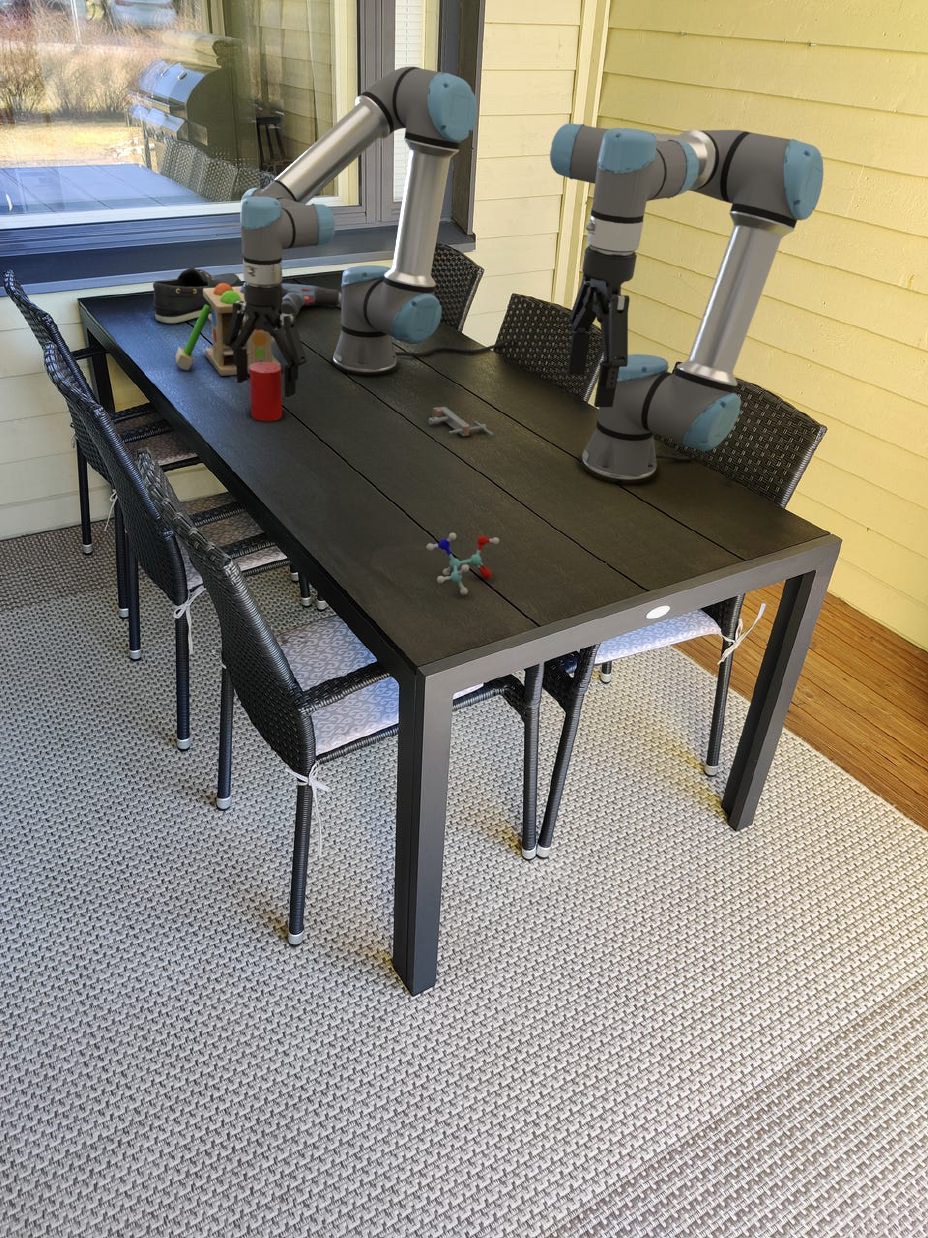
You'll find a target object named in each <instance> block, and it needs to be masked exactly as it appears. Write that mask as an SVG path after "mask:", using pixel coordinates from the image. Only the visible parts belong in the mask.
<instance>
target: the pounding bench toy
mask: <svg viewBox="0 0 928 1238" xmlns="http://www.w3.org/2000/svg"><path fill="white" fill-rule="evenodd" d="M203 296H204V297H205V299H206V300H207V301H208V302H209V304H210V305H211V307H210V306H208V305H204V307H203V309H202V311H201V314H200V316H199V317H197V320H196V322H195V324H194V327H193V329H192V331H191V332H190V333H191V334H190V336H189V338H188V340H187V343H186V344H185V347H184V348H182V347H180V346H179V347H178V349H177V351H176V354H175V357H174V358H175V362H176V365H177V366H178V368H179V369H182V370H185V371H189V370H190V369H191V367H192V365H193V363H194V356H193V351H194V348H195V347H196V345H197V342H198V340H199V337H200V336H201V333H202V332H203V329H204V326H205V325H206V322H207V320H209V321H210V322H211V336H212V337H211V338H212V339H211V340H212V348H205V349H204V352H205V353H204V355H205V357H206V359H208V361H209V363H210V364H211V365H212V366H213V367H214V369H215V370H216V371H217V372H218V374H219V375H220V376H222V377H223V376H234V375H235V376H237V370H236V365H234V359H233V350H232V348H231V347H229V346H226V345H225V344H224V341H225V338H226V335H227V331H228V328H229V324H230V321H231V318H232V314H233V308H232V305H233V303H236V302H238V301H241V300H242V301H244V303H245V304H246V302H245V300H244V284H242V287H231V286H230V285H228V284H226V283H221V284H218V285H217V286H216V287H215V288H204V289H203ZM210 310H211V311H210ZM248 318H249V317H248V316H247V314H246V313H245V314H244V318H243V321H242V324H241V328H240V331H239V332H241V331H242V329H243V328H244V324H245V323H246V321H247V320H248ZM238 336H239V334H238ZM272 344H277V343H276V341H275V340H274V338H273V337H272V336H271V335H270V334H269V332H266V331H263V330H262V329H255V330H254V331H253V333H252V334H251V336H250V338H249V339H248V341H247V342H246V344H245V345H244V346H245V347H244V348H242V350H243V349H246V350H247V368H248V375H250V365H252V364H254V363H258V362H271V363H275V364H278V365H279V366H280V367H281V368H282V364H281V363H280V362H279V360H278V359H277V358H276V357H275V356H274V355H273V348H272V347H273V345H272Z"/></svg>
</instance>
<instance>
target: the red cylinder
mask: <svg viewBox="0 0 928 1238" xmlns="http://www.w3.org/2000/svg"><path fill="white" fill-rule="evenodd" d="M249 388H250V390H249V391H250V392H249V393H250V414H251V415H250V416H251V417H252V418H253V419H255V420H257V421H261V422H273V421H277V420H280V419H281V418H282V417H283V397H282V396H283V395H282V394H283V393H282V391H283V390H282V366H281V367H280V366H279V365H278V364H275V363H271V362H258V363H254V364H252V365H250V374H249Z"/></svg>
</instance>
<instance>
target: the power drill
mask: <svg viewBox="0 0 928 1238" xmlns="http://www.w3.org/2000/svg"><path fill="white" fill-rule="evenodd" d="M280 283H281V285H282V296H283V301H282V304H281V310H282V312H283V314H288V315H290V314H294V315H295V317H297V316H298V314H299V312H300V310H301V309H302V307H303V306H306V307H309V306H312V307H313V306H338V305H339V304H342V292H340V291H339V290H338V289H335V288H334V289H332V288H325V287H321V286H316V285H307V284H297V283H282V282H280Z"/></svg>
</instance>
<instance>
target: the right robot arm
mask: <svg viewBox="0 0 928 1238" xmlns="http://www.w3.org/2000/svg"><path fill="white" fill-rule="evenodd" d="M550 146H551V147H550V151H549V162H550V166H551V168H552V169H553V171H554V173H556V174H557V175H559V176H562V177H565V178H568V179H569V180H576V181H581V182H585V183H590V184H594V190H593V197H592V206H591V208H590V209H591V210H590V217H589V223H586V224H585V230H586V231H587V237H586V243H587V244H588V246H586V248H585V249H584V254H583V260H582V268H581V269H582V270H581V271H582V278H581V283H580V286H579V288H578V292H577V295H576V297H575V300H574V303H573V306H572V308H571V312H570V314H569V318H568V324H570V325H571V331H572V336H571V342H570V349H569V356H568V363H567V369H566V373H567V375H585V372H586V364H587V359H588V352H589V347H590V340H591V334H590V333H592V332H593V326H592V325H593V324H594V322H595V320H597V322H598V323H599V324H600V335H601V344H602V355H603V356H602V357H603V360H602V361H600V363H599V372H598V379H597V385H596V390H595V396H594V402H593V407H594V408H598V412H597V418H596V419H597V420H596V424H595V428H594V431H593V433H592V435H591V436H590V438H589V439H588V442H587V444H586V445H585V447H584V450H583V451H582V453H581V458H580V459H581V460H580V465H581V468H582V469H583V470H584V471H585V472H586V473H587V474H589V476H590V475H591V476H592V477H594V478H597V479H598V480H602V481H604V482H607V483H613V484H619V485H638V484H643V483H647V482H649V481H651V480H652V479H653V478H654V477H655V475H656V470H657V465H658V463H657V459H664V460H665V459H666V460H674V461H675V460H676V461H690V459H691V456H689V455H688V456H677V455H670V454H656V449H655V441H654V436H655V435H657V436H660V437H662V438H666V439H668V440H670V441H672V442H676V443H679V444H681V445H683V446H684V447H685V448H692V449H695V450H698V451H702V452H708V451H711V450H713V449H715V448H716V447H718V446H719V445H720V444H721V443H722V442H723V441H724V440H725V439H726V438H727V437H728V435H730V432H731V431H732V429H733V428H734V426H735V424H736V422H737V420H738V419H739V415H740V412H741V406H742V399H741V398H740V396H739V395H738V394H737V393H735V391H736V389H737V386H738V381H737V379H736V377H735V374H734V370H735V368H736V365H737V362H738V359H739V356H740V354H741V351H742V348H743V346H744V342H745V340H746V337H747V335H748V332H749V329H750V327H751V323H752V321H753V319H754V318H753V317H754V315H755V313H756V309H757V308H758V303H759V302H760V299H761V296H762V293H763V290H764V288H765V285H766V283H767V279H768V276H769V274H770V271H771V268H772V266H773V263H774V260H775V259H776V258H775V257H776V254H777V252H778V249H779V247H780V244H781V241H782V239H783V238H784V237H786V236H788V235H790V234H791V233H792V232H794V231H795V228H796V225H797V223H798V221H804V220H807V219H809V218H810V216H812V214H813V212H814V210H815V209H816V207H817V205H818V203H819V199H820V196H821V193H822V192H821V191H822V188H823V183H824V182H823V181H824V160H823V157H822V156H823V155H822V153H821V152H820V150H819V148H818V147H816V146H815V145H813V144H810V143H807V142H803V141H800V140H798V139H795V138H792V139H791V138H785V137H779V136H774V135H769V134H761V133H756V132H750V131H747V130H741V129H714V130H713V129H712V130H710V129H709V130H707V129H705V130H704V129H703V130H701V129H699V130H698V129H690V130H686V131H683V132H682V133H680V134H670V133H660V132H652V131H648V130H645V129H639V128H629V127H612V128H604V127H596V126H591V125H585V124H583V123H579V124H578V123H571V122H568V123H565V124H563V125H562V126H561V127H560V128H559V129H557V131H556V132H555V134H554V136H553V137H552V141H551V145H550ZM689 191H690V192H694V193H696V194H697V193H698V194H701V195H704V196H706V197H710V198H712V199H714V200H718V201H720V202H725V203H728V204H731V208H730V209H729V213H728V214H729V216H730V219H731V221H732V223H733V228H732V231H731V233H730V236H729V239H728V242H727V246H726V248H725V250H724V253H723V256H722V260H721V262H720V265H719V268H718V270H717V274H716V277H715V280H714V283H713V285H712V289H711V291H710V295H709V297H708V300H707V304H706V305H705V309H704V312H703V314H702V317H701V320H700V323H699V326H698V328H697V332H696V335H695V337H694V341H693V343H692V346H691V349H690V353H689V354H688V358H687V359H686V360H684V361H682V362H681V363H679V364H677V365H676V368H675V370H674V373H672V372H670V371H668V370H669V368H670V366H669V362H668V360H667V359H666V358H664V357H661V356H657V355H653V354H645V353H644V354H643V353H631V354H630V353H629V308H630V295H627V294H622V285H623V284H624V283H626V282H630V281H631V280H633V278H634V274H635V270H636V269H635V268H636V263H637V258H638V255H637V253H636V252H635V251H638V249H639V248H640V245H641V244H640V243H641V238H642V231H643V226H644V221H645V220H644V218H645V213H646V206H647V202H649V201H657V200H661V199H662V200H663V199H668V200H669V199H671V198H674V197H676V196H679V195H682V194H685V193H686V192H689ZM589 332H590V333H589Z"/></svg>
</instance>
